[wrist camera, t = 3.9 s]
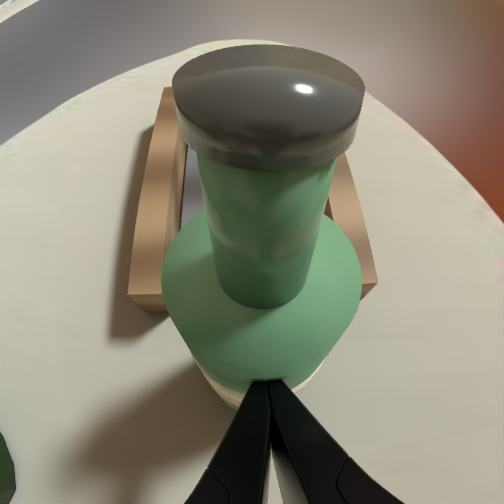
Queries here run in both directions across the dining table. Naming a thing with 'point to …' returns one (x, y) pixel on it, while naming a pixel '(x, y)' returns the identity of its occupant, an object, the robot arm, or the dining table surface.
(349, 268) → the bottle
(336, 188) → the cradle
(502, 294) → the dining table surface
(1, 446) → the bottle
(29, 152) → the dining table surface
